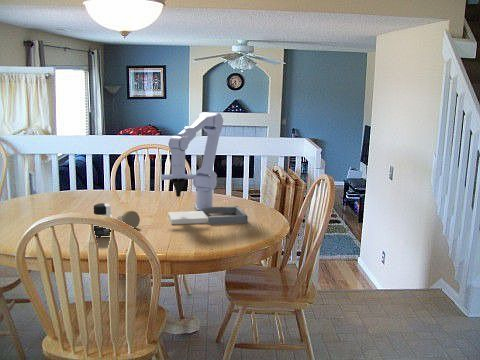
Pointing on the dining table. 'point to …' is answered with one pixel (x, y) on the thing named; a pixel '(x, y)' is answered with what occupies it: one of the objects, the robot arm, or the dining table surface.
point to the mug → (130, 218)
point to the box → (237, 218)
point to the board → (187, 217)
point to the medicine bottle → (104, 211)
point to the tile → (217, 214)
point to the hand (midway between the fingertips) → (178, 196)
